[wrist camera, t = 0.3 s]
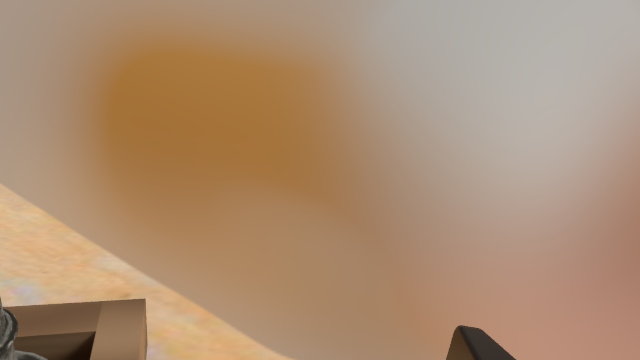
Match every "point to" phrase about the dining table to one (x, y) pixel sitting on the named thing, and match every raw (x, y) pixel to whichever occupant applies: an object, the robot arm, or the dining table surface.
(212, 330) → the dining table surface
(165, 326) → the dining table surface
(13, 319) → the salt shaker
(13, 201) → the dining table surface
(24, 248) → the dining table surface
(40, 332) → the holder
